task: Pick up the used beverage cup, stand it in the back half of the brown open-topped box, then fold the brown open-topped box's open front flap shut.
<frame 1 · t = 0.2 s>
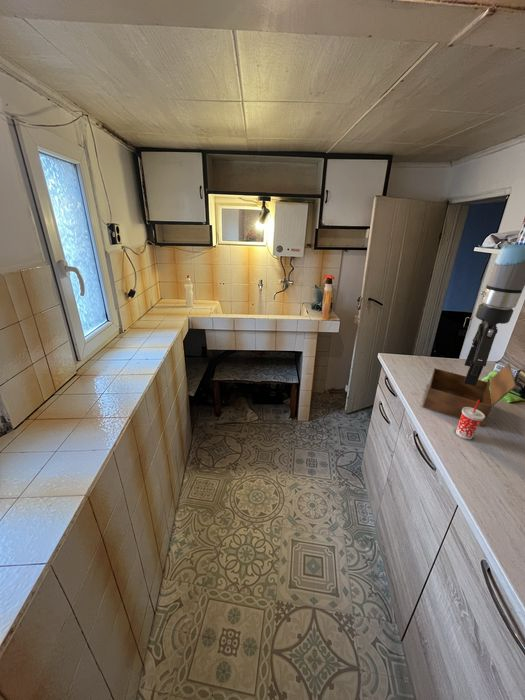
hand: (469, 374, 84), 23 cm above the counter, tool pointing down, fingers open, 13 cm apart
beverage cup: (463, 435, 94), on the counter
brown open-topped box: (452, 403, 110), on the counter
flap: (501, 383, 99), point 13 cm above the counter, hinge at 110.0°
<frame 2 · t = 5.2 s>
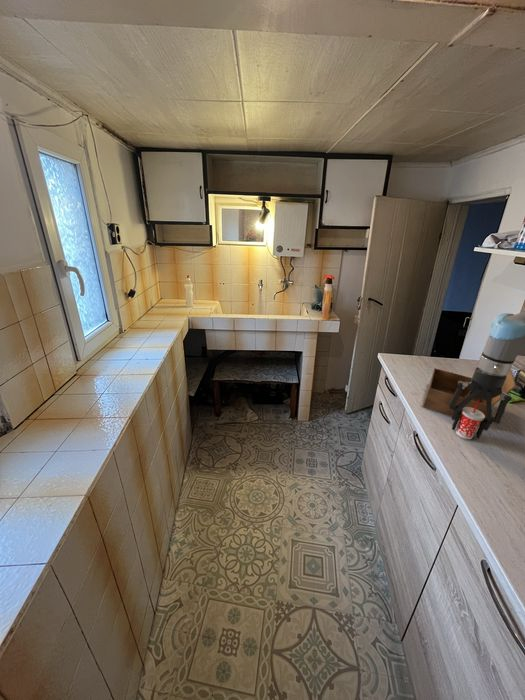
hand: (465, 431, 93), 1 cm above the counter, tool pointing down, fingers closed on beverage cup, 6 cm apart
beverage cup: (463, 435, 94), on the counter, touching gripper
everything else where it was.
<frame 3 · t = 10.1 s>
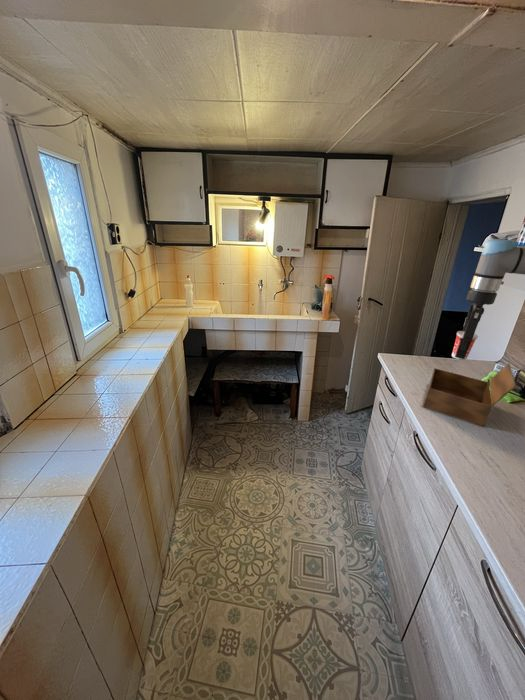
hand: (460, 354, 101), 22 cm above the counter, tool pointing down, fingers closed on beverage cup, 6 cm apart
beverage cup: (458, 357, 101), point 20 cm above the counter, touching gripper
everything else where it was.
when the fingers open (2 cm above the counter, at t = 15.0 s): beverage cup stays where it is, resting on brown open-topped box.
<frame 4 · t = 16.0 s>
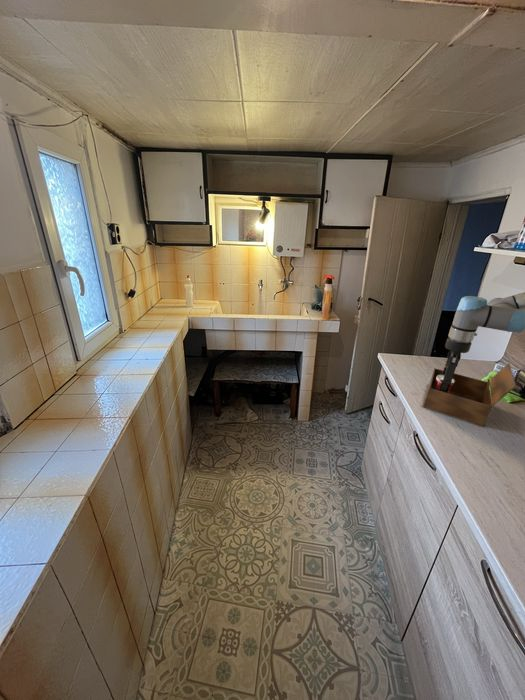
hand: (442, 389, 111), 5 cm above the counter, tool pointing down, fingers open, 13 cm apart
beverage cup: (438, 398, 113), resting on brown open-topped box
everything else where it was.
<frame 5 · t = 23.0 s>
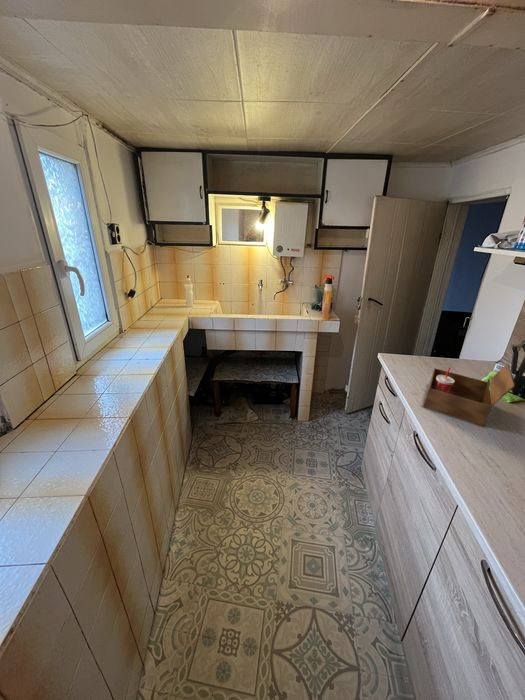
hand: (514, 393, 98), 11 cm above the counter, tool pointing down, fingers closed
flap: (500, 383, 99), point 13 cm above the counter, hinge at 108.1°, touching gripper
everything else where it was.
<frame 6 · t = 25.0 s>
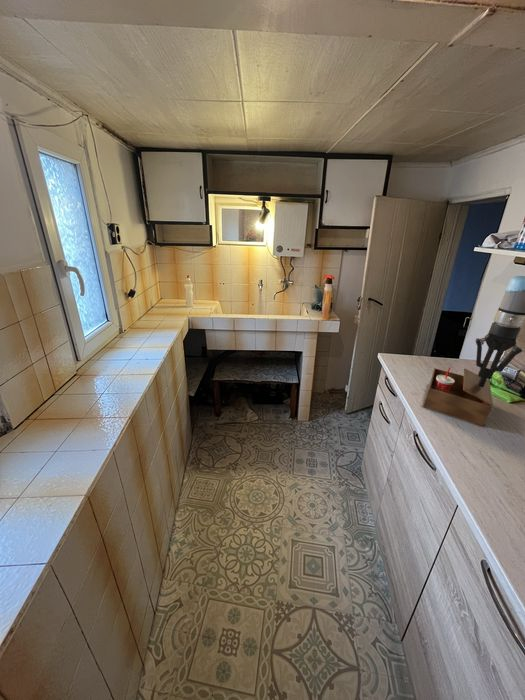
hand: (480, 385, 103), 11 cm above the counter, tool pointing down, fingers closed
flap: (477, 385, 103), point 10 cm above the counter, hinge at 15.6°
everything else where it was.
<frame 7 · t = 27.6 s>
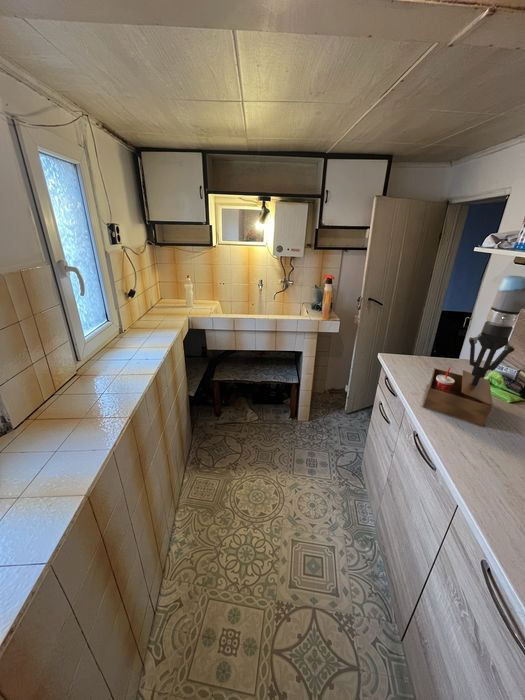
hand: (474, 383, 104), 11 cm above the counter, tool pointing down, fingers closed
flap: (476, 386, 104), point 10 cm above the counter, hinge at 9.6°, touching gripper
everything else where it was.
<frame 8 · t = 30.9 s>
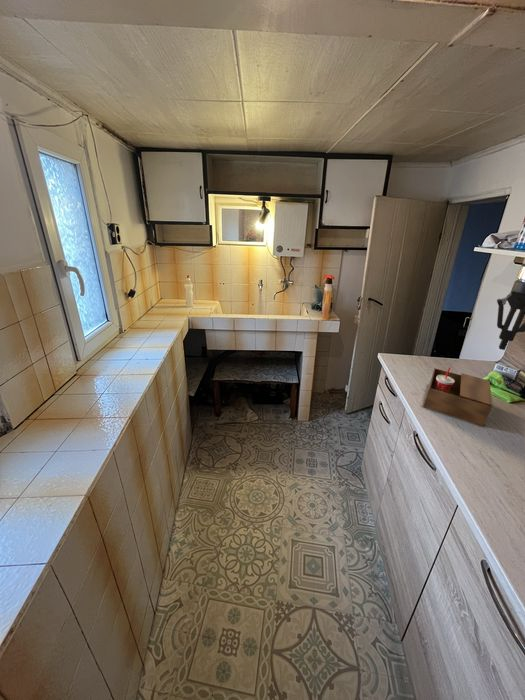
hand: (501, 348, 100), 24 cm above the counter, tool pointing down, fingers closed
flap: (475, 387, 104), point 9 cm above the counter, hinge at 0.6°
everything else where it was.
at the end: beverage cup inside the target area in the brown open-topped box (5.0 cm from its centre), point 0.2 cm above the brown open-topped box's base; flap at +1° (first picture: +110°) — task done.
